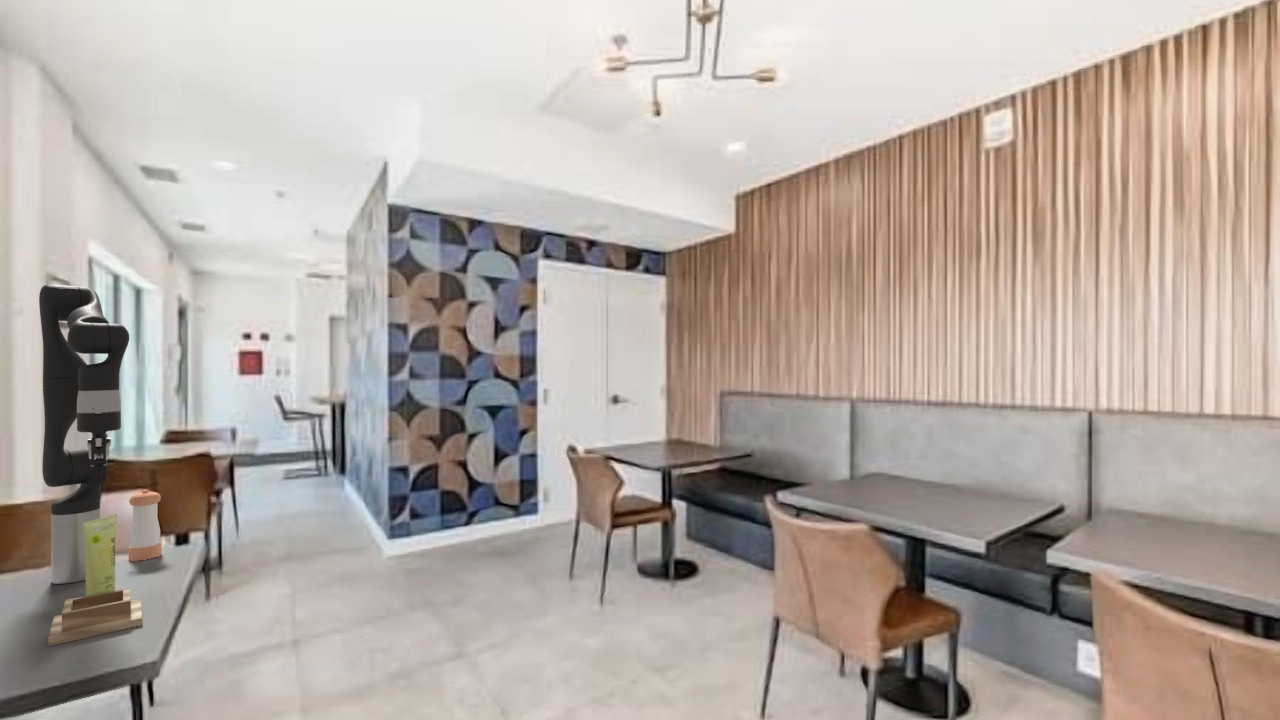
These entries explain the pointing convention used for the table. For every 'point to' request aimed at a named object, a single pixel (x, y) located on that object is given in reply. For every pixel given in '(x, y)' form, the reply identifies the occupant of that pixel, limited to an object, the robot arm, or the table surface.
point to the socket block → (95, 616)
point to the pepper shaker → (145, 526)
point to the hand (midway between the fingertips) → (99, 481)
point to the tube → (100, 554)
